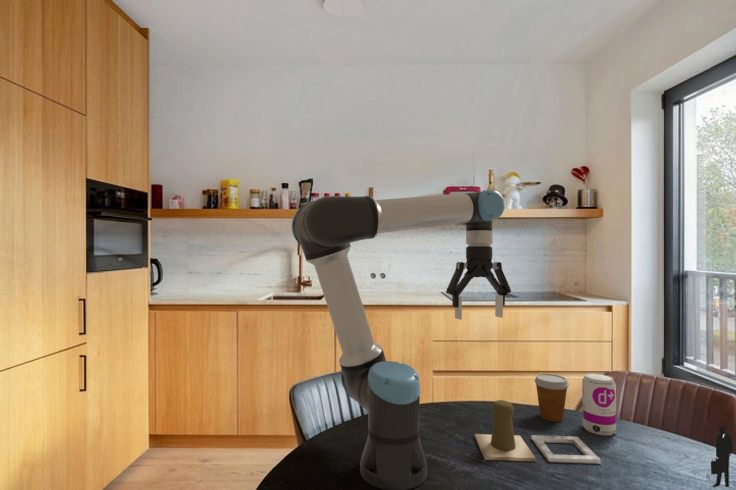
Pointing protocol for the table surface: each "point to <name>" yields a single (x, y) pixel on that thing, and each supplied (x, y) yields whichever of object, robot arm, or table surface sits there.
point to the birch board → (492, 453)
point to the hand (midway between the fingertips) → (479, 318)
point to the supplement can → (599, 404)
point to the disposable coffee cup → (551, 396)
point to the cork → (503, 426)
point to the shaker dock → (586, 458)
